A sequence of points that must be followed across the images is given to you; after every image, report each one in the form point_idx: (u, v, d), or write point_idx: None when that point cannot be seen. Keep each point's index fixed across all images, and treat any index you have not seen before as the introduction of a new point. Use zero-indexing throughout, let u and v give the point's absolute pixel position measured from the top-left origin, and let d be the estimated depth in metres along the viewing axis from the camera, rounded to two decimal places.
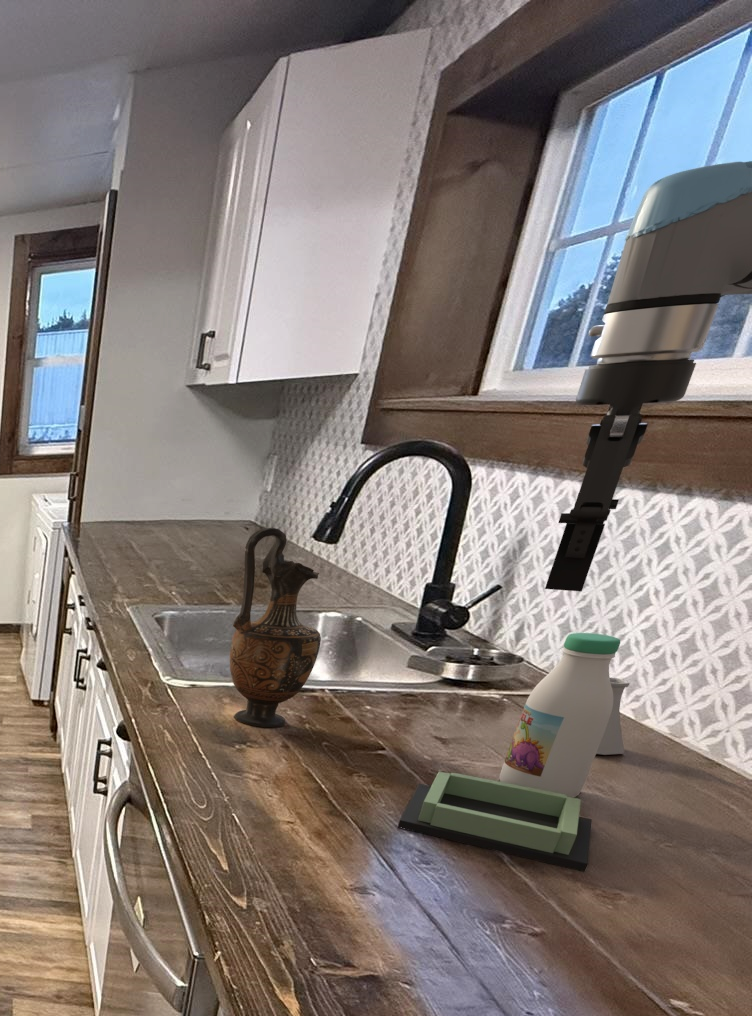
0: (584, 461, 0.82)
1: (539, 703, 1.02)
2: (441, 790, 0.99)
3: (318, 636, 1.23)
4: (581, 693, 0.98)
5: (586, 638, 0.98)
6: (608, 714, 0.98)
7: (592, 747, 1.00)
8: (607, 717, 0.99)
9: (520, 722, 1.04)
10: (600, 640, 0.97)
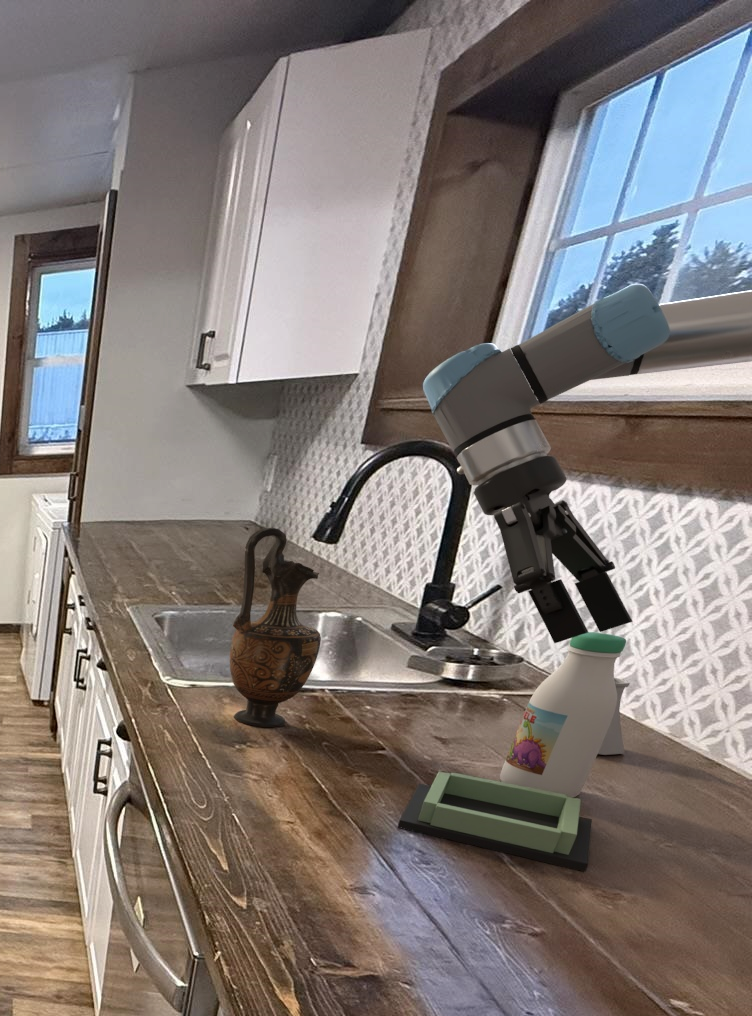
0: None
1: (542, 701, 1.02)
2: (441, 790, 0.99)
3: (318, 636, 1.23)
4: (585, 691, 0.98)
5: (592, 637, 0.98)
6: (611, 714, 0.98)
7: (594, 746, 1.00)
8: (610, 717, 0.99)
9: (523, 720, 1.04)
10: (606, 639, 0.97)
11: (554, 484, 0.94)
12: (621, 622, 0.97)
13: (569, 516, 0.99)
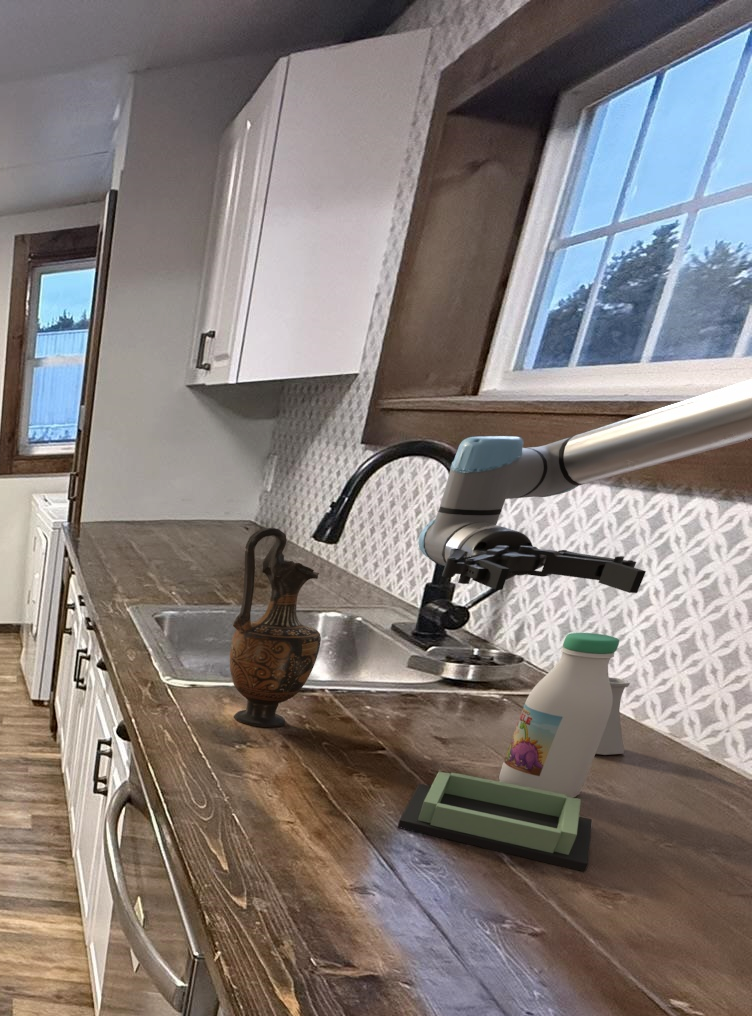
0: None
1: (537, 703, 1.02)
2: (441, 790, 0.99)
3: (318, 636, 1.23)
4: (579, 692, 0.98)
5: (585, 638, 0.98)
6: (607, 714, 0.98)
7: (591, 747, 1.00)
8: (606, 717, 0.99)
9: (519, 722, 1.04)
10: (599, 640, 0.97)
11: (497, 535, 1.18)
12: (634, 576, 1.02)
13: (566, 553, 1.14)
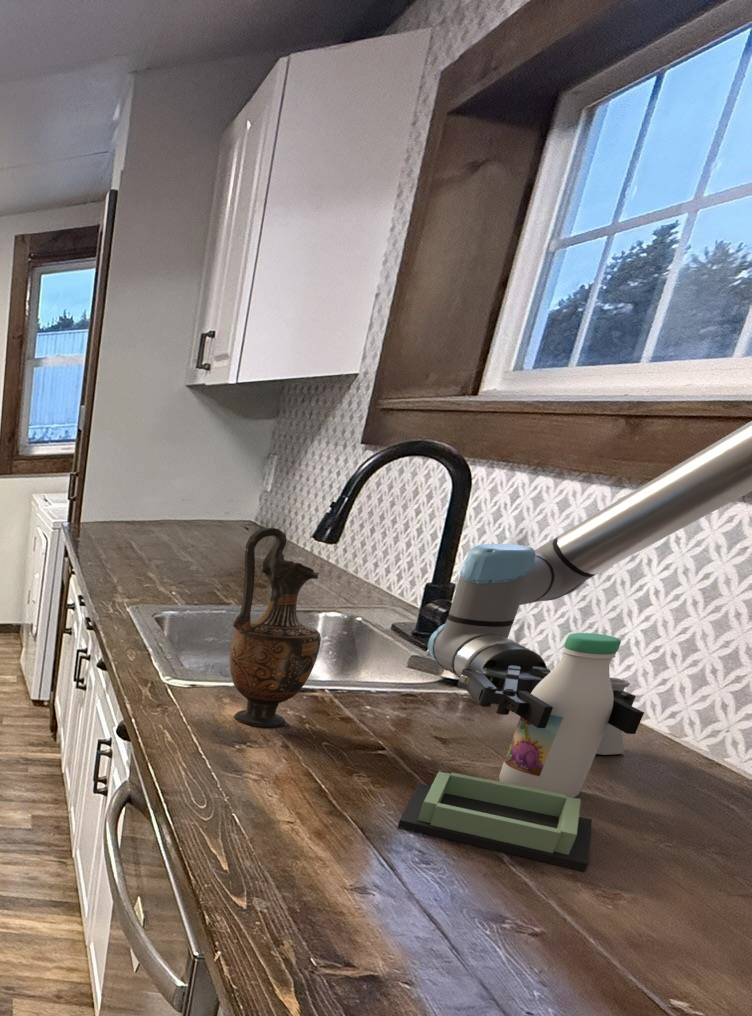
0: None
1: None
2: (441, 790, 0.99)
3: (318, 636, 1.23)
4: (580, 692, 0.98)
5: (586, 638, 0.98)
6: (608, 714, 0.98)
7: (591, 747, 1.00)
8: (607, 717, 0.98)
9: (520, 722, 1.04)
10: (600, 640, 0.97)
11: (508, 653, 1.13)
12: (632, 716, 0.96)
13: None
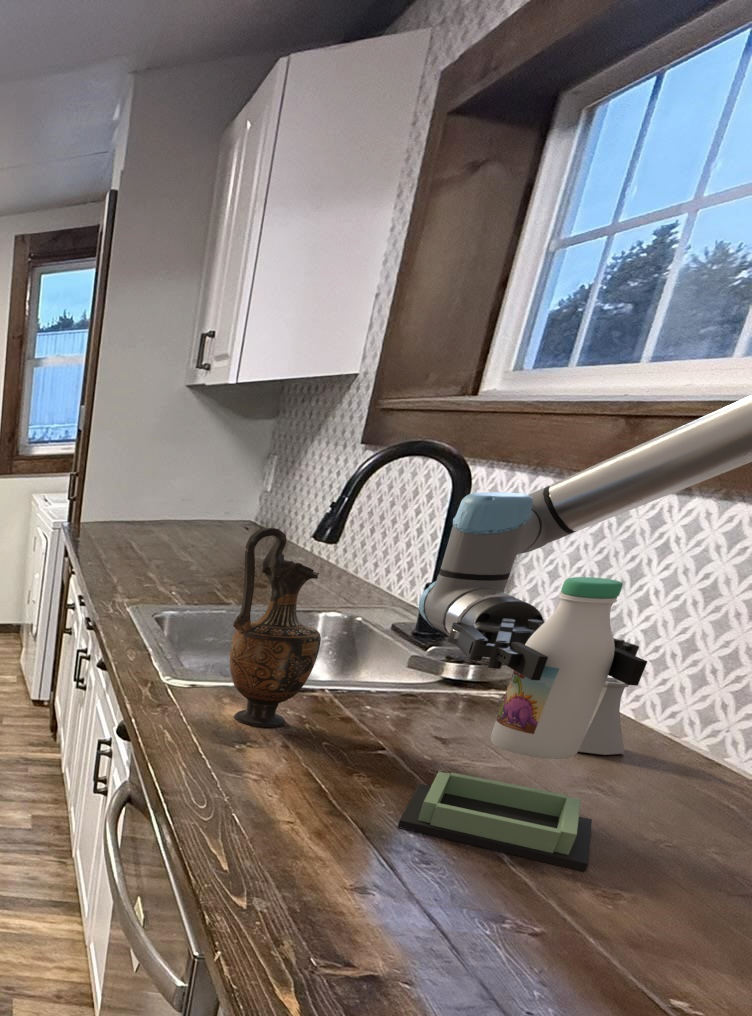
0: None
1: None
2: (441, 790, 0.99)
3: (318, 636, 1.23)
4: (578, 641, 0.90)
5: (585, 581, 0.90)
6: (608, 665, 0.90)
7: (590, 701, 0.92)
8: (607, 668, 0.90)
9: (513, 676, 0.96)
10: (600, 583, 0.89)
11: (502, 606, 1.05)
12: (634, 666, 0.88)
13: None
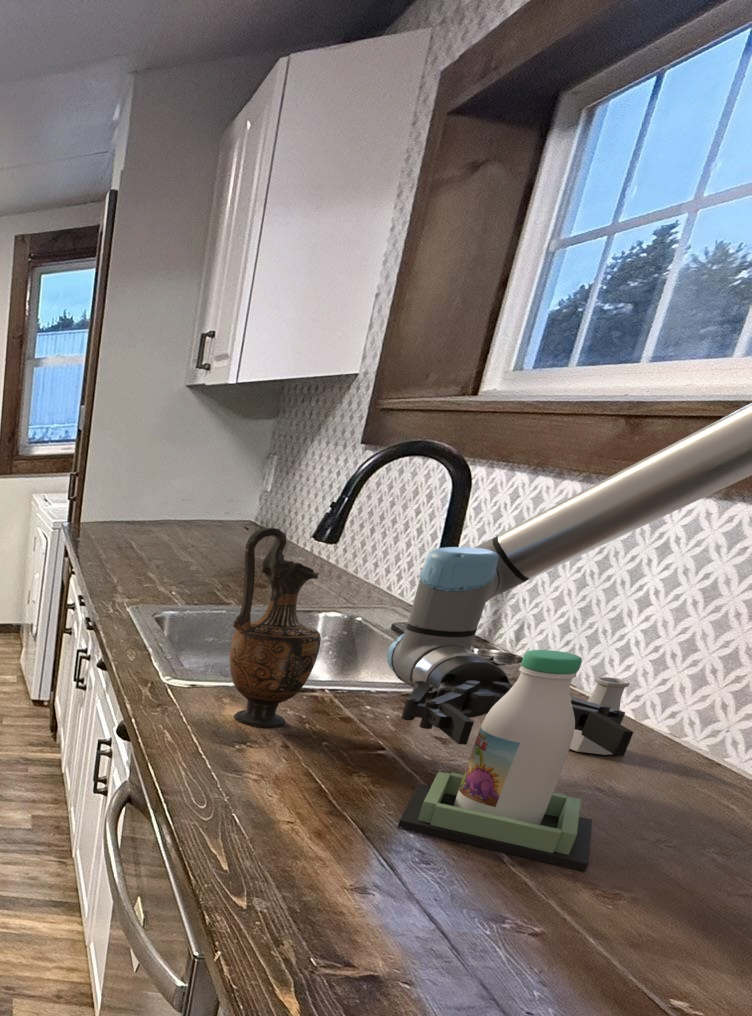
0: None
1: (494, 726, 0.92)
2: (441, 790, 0.99)
3: (318, 636, 1.23)
4: (538, 716, 0.89)
5: (544, 656, 0.88)
6: (569, 740, 0.89)
7: (551, 776, 0.90)
8: (568, 743, 0.89)
9: (475, 747, 0.95)
10: (559, 658, 0.87)
11: (467, 667, 1.04)
12: (620, 736, 0.87)
13: None
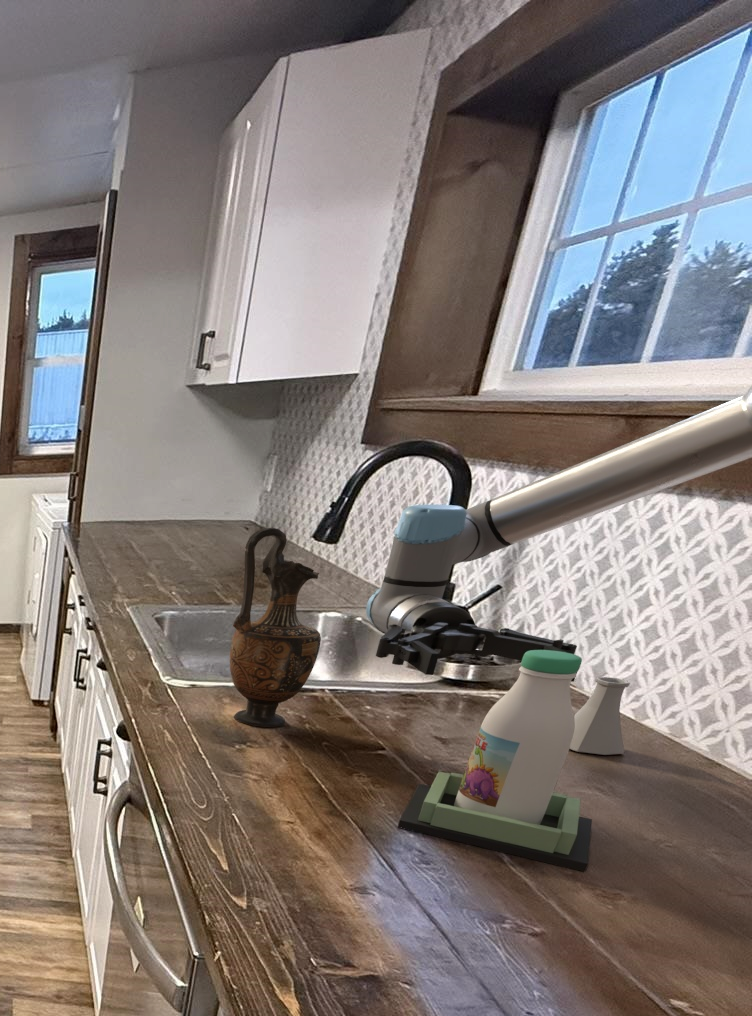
0: None
1: (493, 727, 0.92)
2: (441, 790, 0.99)
3: (318, 636, 1.23)
4: (538, 716, 0.89)
5: (544, 656, 0.88)
6: (568, 740, 0.89)
7: (551, 776, 0.90)
8: (567, 743, 0.89)
9: (475, 747, 0.95)
10: (559, 658, 0.87)
11: (437, 611, 1.13)
12: None
13: (508, 632, 1.08)
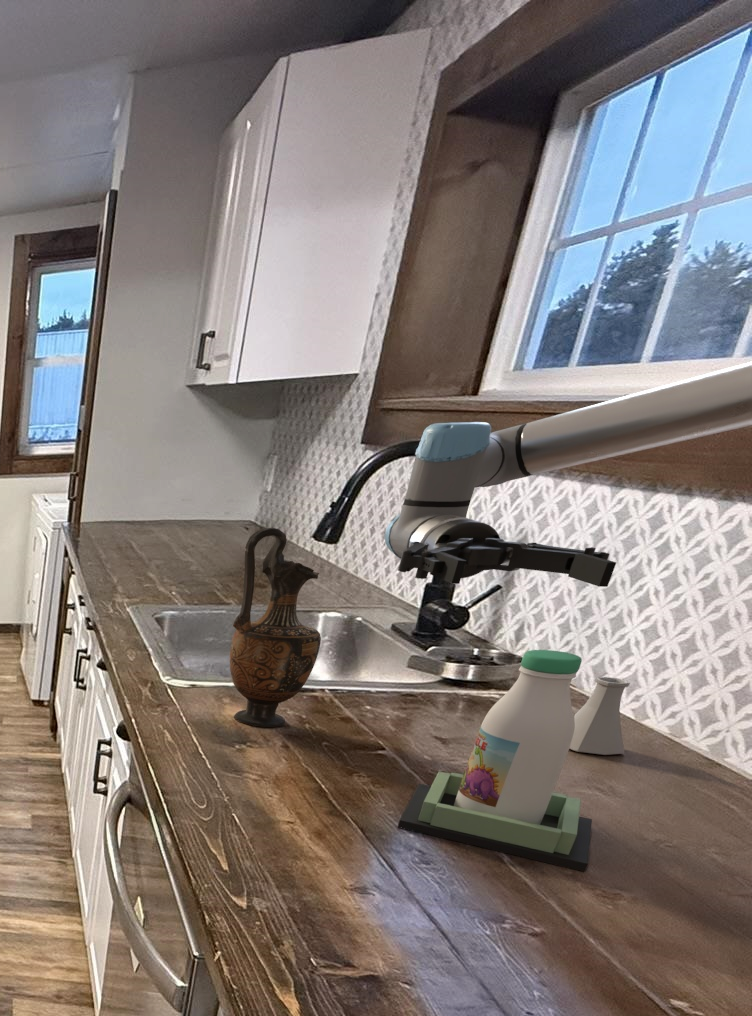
0: None
1: (493, 727, 0.92)
2: (441, 790, 0.99)
3: (318, 636, 1.23)
4: (538, 716, 0.89)
5: (544, 656, 0.88)
6: (568, 740, 0.89)
7: (551, 776, 0.90)
8: (567, 743, 0.89)
9: (474, 747, 0.95)
10: (559, 658, 0.87)
11: (461, 527, 1.09)
12: (604, 568, 0.92)
13: (536, 546, 1.04)
